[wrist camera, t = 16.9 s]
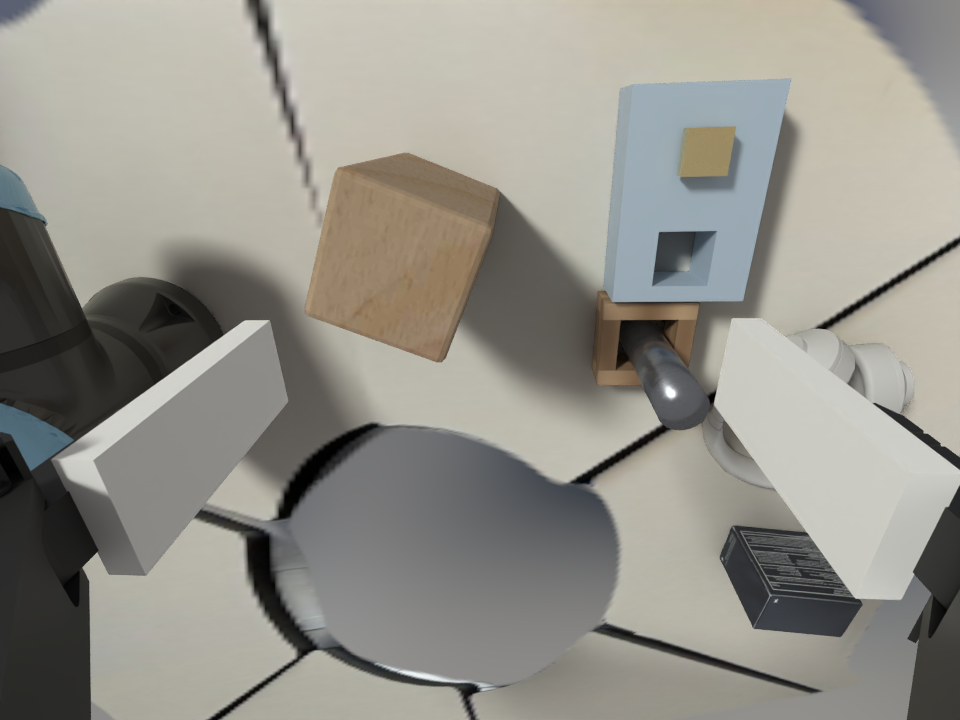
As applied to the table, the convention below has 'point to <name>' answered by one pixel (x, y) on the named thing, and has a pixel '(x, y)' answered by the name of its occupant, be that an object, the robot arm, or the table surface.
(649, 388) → the cylinder
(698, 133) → the small square tan block
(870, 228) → the table surface
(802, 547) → the small box
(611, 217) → the socket block
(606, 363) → the rack
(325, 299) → the wooden block
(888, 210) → the table surface
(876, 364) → the headphones
